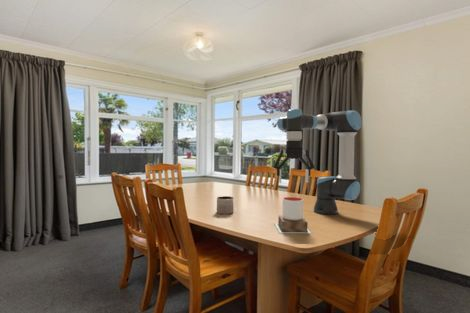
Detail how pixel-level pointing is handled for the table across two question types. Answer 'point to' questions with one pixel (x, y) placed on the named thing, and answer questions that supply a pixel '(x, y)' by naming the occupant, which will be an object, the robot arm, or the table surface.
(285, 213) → the cup
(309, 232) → the build board
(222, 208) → the planter
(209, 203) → the table surface
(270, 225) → the table surface
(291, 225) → the base block
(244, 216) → the table surface
